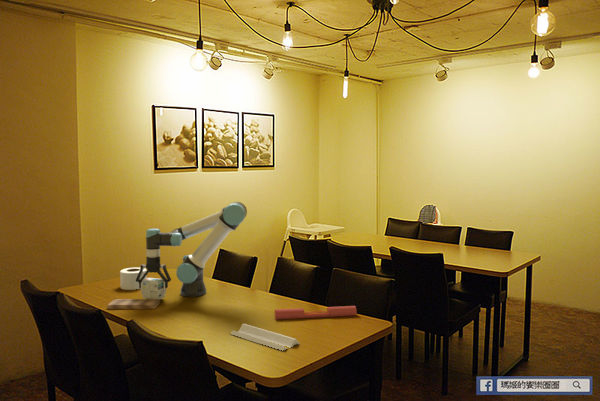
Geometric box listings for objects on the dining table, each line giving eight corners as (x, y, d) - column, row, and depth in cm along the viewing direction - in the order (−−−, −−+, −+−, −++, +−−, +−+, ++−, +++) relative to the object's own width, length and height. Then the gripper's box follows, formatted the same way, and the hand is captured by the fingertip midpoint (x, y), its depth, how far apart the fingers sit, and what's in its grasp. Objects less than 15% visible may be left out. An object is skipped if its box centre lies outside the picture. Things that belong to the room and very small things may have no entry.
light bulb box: (165, 297, 277) (165, 278, 276) (158, 300, 270) (157, 281, 269) (149, 295, 280) (149, 277, 279) (142, 298, 274) (141, 279, 273)
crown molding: (230, 336, 221) (230, 328, 220) (249, 329, 230) (249, 321, 230) (283, 353, 202) (283, 344, 201) (300, 344, 211) (300, 336, 211)
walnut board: (160, 302, 269) (160, 298, 269) (155, 308, 258) (155, 304, 258) (114, 303, 268) (114, 299, 268) (107, 308, 257) (107, 304, 257)
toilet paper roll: (141, 290, 296) (141, 272, 295) (116, 289, 296) (116, 272, 295) (150, 283, 311) (149, 267, 310) (126, 283, 311) (125, 267, 310)
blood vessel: (275, 321, 241) (275, 311, 241) (274, 317, 246) (274, 308, 246) (356, 317, 248) (356, 307, 248) (353, 314, 253) (354, 304, 253)
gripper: (176, 255, 278) (176, 291, 279) (133, 254, 277) (134, 291, 278) (173, 257, 270) (173, 295, 272) (129, 257, 269) (130, 295, 271)
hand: (153, 293), depth 275 cm, fingers closed on light bulb box, 12 cm apart
